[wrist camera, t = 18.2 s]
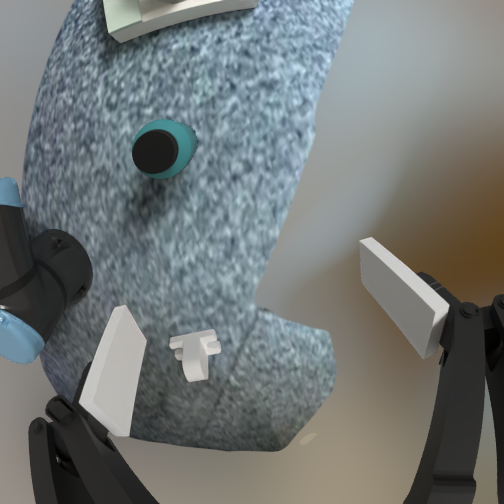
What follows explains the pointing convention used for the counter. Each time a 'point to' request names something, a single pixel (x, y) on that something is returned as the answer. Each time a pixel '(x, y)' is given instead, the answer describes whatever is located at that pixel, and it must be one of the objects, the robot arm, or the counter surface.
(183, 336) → the cable organizer
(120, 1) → the cream green tray
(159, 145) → the beverage bottle
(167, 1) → the supplement box
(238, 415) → the counter surface
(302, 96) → the counter surface
